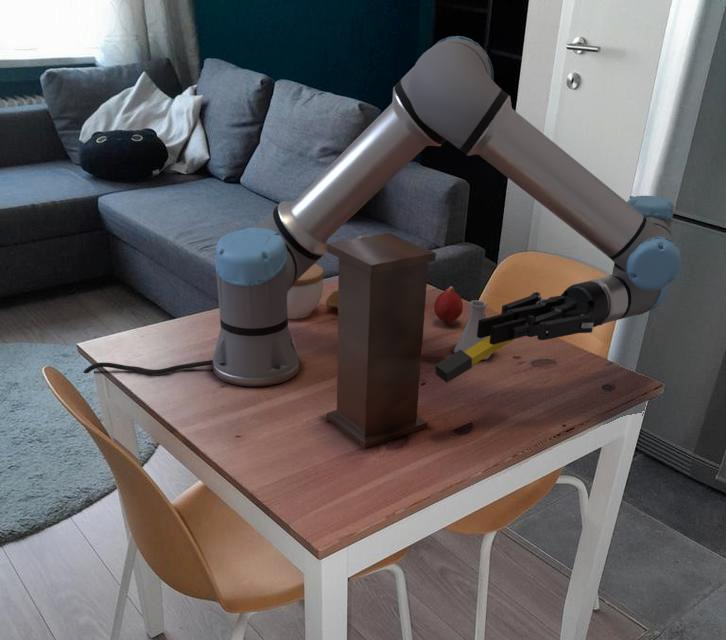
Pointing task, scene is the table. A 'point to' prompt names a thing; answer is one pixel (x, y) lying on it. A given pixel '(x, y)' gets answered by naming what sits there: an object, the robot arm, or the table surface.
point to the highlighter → (465, 359)
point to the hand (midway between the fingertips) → (485, 332)
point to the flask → (472, 327)
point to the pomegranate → (448, 306)
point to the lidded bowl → (305, 293)
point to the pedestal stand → (379, 336)
